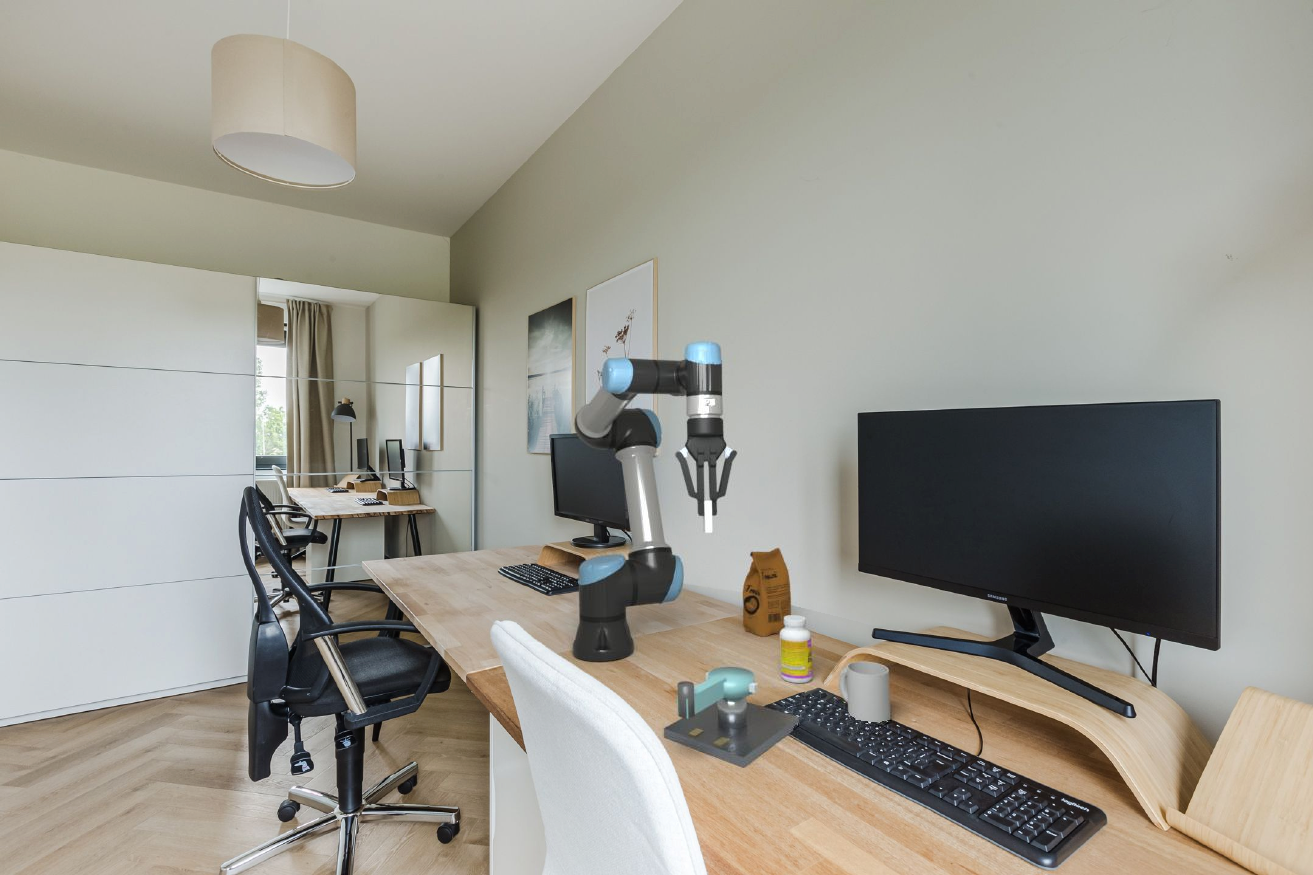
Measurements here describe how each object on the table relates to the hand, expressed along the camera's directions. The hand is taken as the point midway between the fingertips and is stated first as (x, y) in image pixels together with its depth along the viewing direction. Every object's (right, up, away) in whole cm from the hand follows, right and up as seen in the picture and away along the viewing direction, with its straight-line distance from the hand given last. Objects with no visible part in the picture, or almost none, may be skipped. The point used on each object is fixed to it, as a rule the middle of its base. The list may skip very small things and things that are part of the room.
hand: (707, 531), depth 121 cm
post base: (+3, -32, -19) cm, 37 cm away
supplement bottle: (+19, -32, +5) cm, 38 cm away
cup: (+27, -32, -14) cm, 44 cm away
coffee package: (+20, -34, +40) cm, 56 cm away
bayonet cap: (-1, -24, -23) cm, 33 cm away
